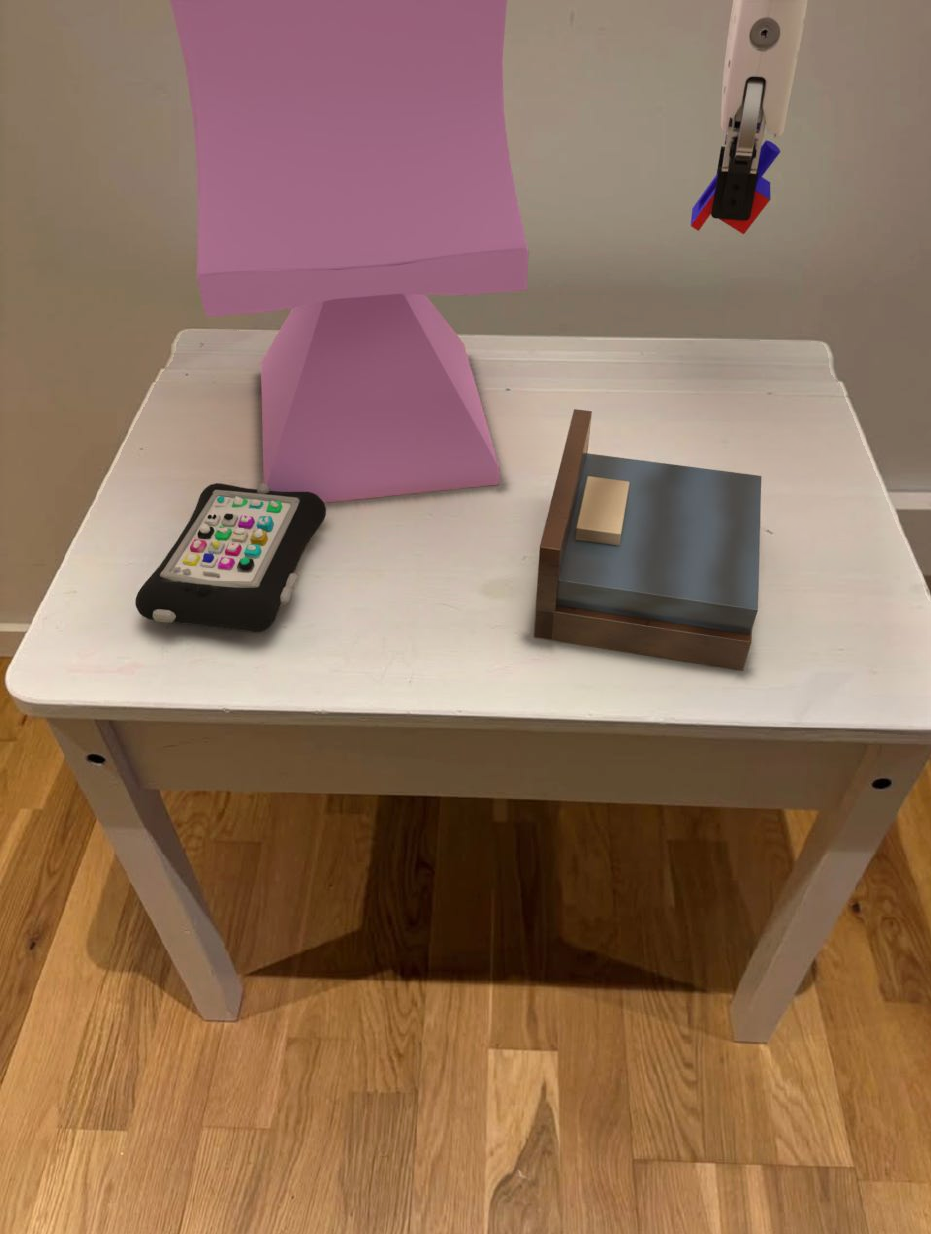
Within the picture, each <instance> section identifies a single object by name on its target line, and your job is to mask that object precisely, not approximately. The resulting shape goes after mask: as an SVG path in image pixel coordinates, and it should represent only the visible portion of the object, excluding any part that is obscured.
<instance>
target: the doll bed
mask: <svg viewBox="0 0 931 1234" xmlns="http://www.w3.org/2000/svg"><path fill="white" fill-rule="evenodd" d="M592 415H593V411H591V410H584V409H577V408H574V409H573V411H572V415H571V419H570V423H569V428H568V432H567V435H566V440H565V444H564V448H563V451H562V454H561V455H562V456H561V461H560V464H559V467H558V472H557V476H556V480H555V484H554V488H553V492H552V496H551V500H550V504H549V508H548V512H547V515H546V520H545V524H544V528H543V531H542V537H541V540H540V545H539V551H538V565H537V581H536V582H537V583H536V598H535V613H534V625H533V626H534V628H533V638H535V639H542V640H547V641H555V642H563V643H568V644H573V645H580V646H587V647H593V648H598V649H604V650H605V649H606V650H612V651H617V652H625V653H631V654H637V655H642V656H649V657H656V658H662V659H667V660H674V661H680V662H685V663H693V664H700V665H706V666H712V667H718V668H723V669H731V670H737V671H743V670H744V669H745V665H746V662H747V659H748V656H749V653H750V652H749V651H750V650H751V645H752V643H753V642H752V641H753V640H752V639H753V638H752V637H753V627H754V625H755V622H756V618H757V615H758V612H759V590H760V589H759V587H760V586H759V584H760V583H759V582H760V552H761V551H760V548H761V547H760V546H761V545H760V544H761V511H762V510H761V508H762V507H761V506H762V475H757V474H750V473H749V474H748V473H744V472H743V473H742V472H735V471H727V470H720V469H719V470H718V469H712V468H704V467H697V466H689V465H681V464H672V463H666V462H657V461H650V460H643V459H633V458H627V457H619V456H611V455H603V454H597V453H589V443H590V433H591V424H592Z"/></svg>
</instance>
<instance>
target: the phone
mask: <svg viewBox="0 0 931 1234" xmlns="http://www.w3.org/2000/svg"><path fill="white" fill-rule="evenodd" d="M325 504H326V503H324V502H323V501H322V500H321V499H320V497H319V496H317V495H316V494H314V493H311V492H280V491H270V488H269V487H268V485H266V484H264V483H260V484H259V485H257V486H256V488H249V487H248V488H247V487H242V486H236V485H231V484H227V483H219V482H215V483H212V484H209V485H208V486H206V487H205V488H204V489H203V490H202V491H201V493H200V495H199V497H198V500H197V503H196V505H195V508H194V510H193V513H192V514H191V516H190V519H189V520H188V522H187V524H186V525H185V527H184V529H183V531H182V532H181V534H179V537H178V538H177V540H176V541H175V543H174V544H173V546H172V547H171V548H170V550H169V551H168V552H167V554H166V555H165V557H164V558H163V560H162V562H161V563H160V564H159V566H158V567H157V568H156V569H155V570H154V572H153V573H152V574H151V575H150V576H149V577H148V579H147V580H146V581H145V582H144V583H143V584H142V586H141V587H140V589H139V590H138V592H137V594H136V597H135V603H134V605H135V608H136V610H137V612H138V614H140V615H141V617H143V618H145V619H146V620H149V621H156V622H158V623H168V624H169V623H175V624H183V625H186V624H187V625H196V626H204V627H212V628H221V629H225V630H232V631H237V632H238V631H240V632H249V633H253V634H257V633H262V632H265V631H267V630H268V629H269V628H271V627H272V626H273V624H274V623H275V621H276V619H277V616H278V614H279V612H280V608H281V606H285V605H287V604H289V602H290V600H291V597H292V594H293V590H294V589H295V588H296V585H297V583H298V580H299V575H297V573H295V571H296V568H297V566H298V564H299V562H300V560H301V558H302V555H303V553H304V552H305V549H306V547H307V546H308V545H309V543H310V542H311V540H312V538H313V537H314V536H315V534H316V533H317V532H318V530H319V529H320V527H321V525H322V524H323V522H324V521H325V518H326V516H327V507H326V505H325Z"/></svg>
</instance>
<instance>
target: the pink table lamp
mask: <svg viewBox="0 0 931 1234" xmlns="http://www.w3.org/2000/svg"><path fill="white" fill-rule="evenodd" d="M169 4H170V7H171V11H172V14H173V18H174V19H173V20H174V23H175V27H176V32H177V37H178V41H179V44H180V49H181V53H182V57H183V61H184V66H185V72H186V79H187V85H188V94H189V99H190V108H191V114H192V121H193V122H192V123H193V124H192V125H193V135H194V136H193V137H194V147H195V161H196V182H197V185H196V186H197V190H196V191H197V253H196V280H197V284H198V289H199V295H200V298H201V302H202V307H203V312H204V316H205V318H214V317H215V318H216V317H226V316H237V315H239V316H240V315H249V314H260V313H272V312H273V313H274V312H278V311H282V310H288V309H291V310H290V311H289V313H288V315H287V317H286V318H285V321H284V322H283V324H282V325H281V327H280V328H279V330H278V332H277V334H276V336H275V338H274V339H273V340H272V342H271V344H270V346H269V348H268V349H267V351H266V352H265V354H264V356H263V357H262V359H261V361H260V380H261V381H260V383H261V387H260V388H261V421H262V423H261V424H262V425H261V426H262V464H263V467H262V468H263V469H262V470H263V484H266V485H268V487H269V488H270V491H280V492H311V493H314V494H316V495H317V496H319V497H320V499H321V500H322V501H323V502H324V504H326V503H334V502H345V501H354V500H363V499H373V498H382V497H391V496H403V495H411V494H421V493H431V492H440V491H449V490H459V489H469V488H477V487H488V486H498V485H500V471H501V469H500V468H501V467H500V465H499V462H498V458H497V455H496V452H495V447H494V444H493V440H492V437H491V434H490V431H489V427H488V426H489V425H488V423H487V419H486V416H485V413H484V410H483V409H484V408H483V406H482V405H483V404H482V402H481V398H480V394H479V391H478V388H477V384H476V381H475V377H474V373H473V370H472V367H471V366H472V365H471V363H470V359H469V355H468V352H467V349H466V346H465V343H464V342H463V340H462V339H461V338H460V337H459V335H458V334H457V333H456V331H455V330H454V329H453V328H452V326H451V325H450V323H448V322H447V320H446V319H445V317H444V316H443V315H442V314H441V312H440V311H439V310H438V308H437V307H436V306H435V305H434V303H432V301H431V300H430V298H429V297H428V296H427V295H430V296H431V295H433V296H475V295H487V294H499V293H511V292H521V291H528V278H529V277H528V276H529V275H528V274H529V257H530V256H529V253H530V252H529V251H530V249H529V247H528V244H527V238H526V234H525V230H524V226H523V225H524V224H523V220H522V216H521V211H520V206H519V201H518V197H517V192H516V191H517V190H516V187H515V180H514V176H513V169H512V164H511V157H510V151H509V150H510V149H509V142H508V135H507V125H506V117H505V100H504V74H503V73H504V71H503V55H504V45H505V44H504V42H505V29H506V17H507V6H508V0H169Z"/></svg>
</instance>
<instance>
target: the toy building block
mask: <svg viewBox="0 0 931 1234" xmlns="http://www.w3.org/2000/svg"><path fill="white" fill-rule="evenodd" d="M780 153H781V149H780V148H779V147H778V145H776V144H775V143H774V142H772V141H770V140H765V141H764V142H763V143H762V146H761V151H760V156H759V162H758V167H757V170H759V175H758V180H757V185H756V190H755V195H754V200H753V205H752V210H751V216H750V218H749V219H748V220H747V221H740V220H728V219H719V220H720V221H721V222H723V223H725V224H726V225H728V227H731V228H733V229H734V230H736V231H737V232H738V233H740V234H742V235H745V234H746V232H747V231H748V230H749V229H750V227H751V226H752V224H753V223H754V222H755V221H756V219H757V218H758V217H759V215H760V214H761V213H762V212H763V210H765V208H766V206H767V205H768V204H769V203H770V201H771V181H769V180H768V179H766V178H765V177H763V176H764V175H765V174H766V172H767V171H768V169H769V168H770V167H771V165H773V163H774V161H775V160H776V159H777V158H778V156H779V154H780ZM730 159H731V157H730ZM717 175H718V173H717V172H716V174H715V176H714V177H713V179H712V180H711V181H710V183H709V184H708V186H706V188H705V190H704V191H703V193H702V195H701V196H700V197H699V198H698V200H697V201H696V203H695V204H694V206H693V207H692V209H691V216H690V217H691V219H690V227H691V228H692V229H694V230H696V231H697V232H700V230H701V228H702V227H703V226H704V224H705V223H706V222H707V220H708V219H709V217H711V211H712V205H713V199H714V193H715V187H716V181H717Z"/></svg>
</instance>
